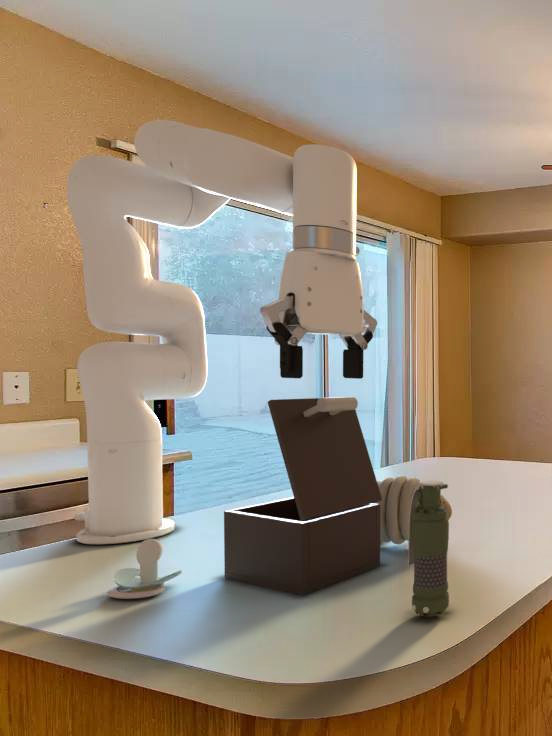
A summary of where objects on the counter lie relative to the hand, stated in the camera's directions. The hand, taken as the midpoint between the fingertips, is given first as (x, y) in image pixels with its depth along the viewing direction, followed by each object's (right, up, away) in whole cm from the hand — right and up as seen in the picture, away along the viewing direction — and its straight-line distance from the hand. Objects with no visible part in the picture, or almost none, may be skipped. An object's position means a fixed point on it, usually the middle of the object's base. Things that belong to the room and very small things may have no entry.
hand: (323, 378), depth 78 cm
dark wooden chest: (-4, -26, +3) cm, 27 cm away
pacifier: (-19, -27, -6) cm, 33 cm away
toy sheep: (+5, -26, +15) cm, 31 cm away
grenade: (+17, -27, -11) cm, 34 cm away
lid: (0, -10, 0) cm, 10 cm away
